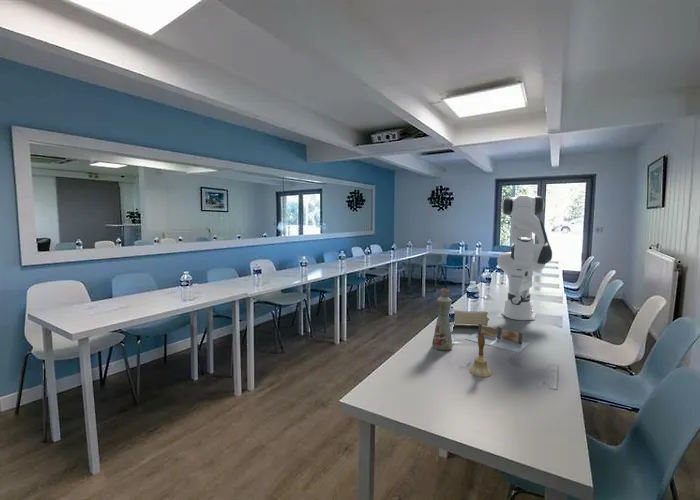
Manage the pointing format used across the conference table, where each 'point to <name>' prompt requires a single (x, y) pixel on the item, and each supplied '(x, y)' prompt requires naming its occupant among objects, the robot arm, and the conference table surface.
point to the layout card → (499, 343)
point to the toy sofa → (471, 317)
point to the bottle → (443, 323)
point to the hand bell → (480, 361)
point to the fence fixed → (489, 331)
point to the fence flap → (512, 336)
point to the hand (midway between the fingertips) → (521, 299)
